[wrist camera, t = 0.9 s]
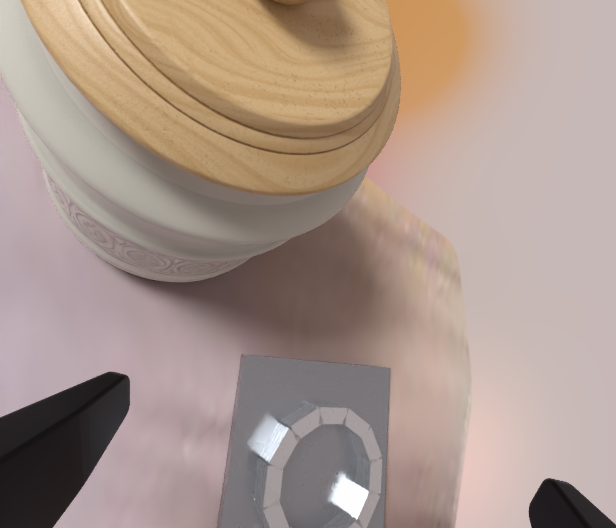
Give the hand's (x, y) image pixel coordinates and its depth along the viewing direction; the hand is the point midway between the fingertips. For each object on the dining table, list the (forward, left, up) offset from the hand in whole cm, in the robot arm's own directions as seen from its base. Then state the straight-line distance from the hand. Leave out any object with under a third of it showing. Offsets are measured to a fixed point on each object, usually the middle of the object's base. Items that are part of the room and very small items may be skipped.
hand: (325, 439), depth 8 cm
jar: (+11, +3, -16) cm, 20 cm away
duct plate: (-6, -9, -15) cm, 19 cm away
